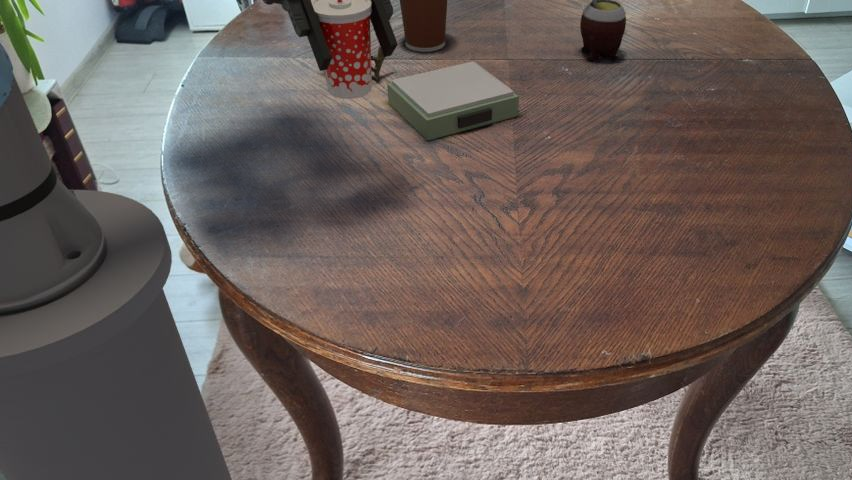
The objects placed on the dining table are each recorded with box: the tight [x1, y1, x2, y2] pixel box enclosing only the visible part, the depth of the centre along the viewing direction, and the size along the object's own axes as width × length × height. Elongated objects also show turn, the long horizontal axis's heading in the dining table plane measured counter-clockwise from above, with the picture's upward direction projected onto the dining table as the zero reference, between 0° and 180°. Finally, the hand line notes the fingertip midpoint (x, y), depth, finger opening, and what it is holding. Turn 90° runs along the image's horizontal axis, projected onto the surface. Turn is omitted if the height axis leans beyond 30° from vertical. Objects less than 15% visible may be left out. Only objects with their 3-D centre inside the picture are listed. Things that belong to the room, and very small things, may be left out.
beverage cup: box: [311, 0, 373, 100], centre depth 73 cm, size 6×6×14 cm
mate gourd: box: [579, 0, 627, 63], centre depth 113 cm, size 8×8×15 cm
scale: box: [386, 60, 520, 141], centre depth 101 cm, size 14×12×4 cm
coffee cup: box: [399, 0, 448, 53], centre depth 116 cm, size 9×9×12 cm
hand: (359, 57), depth 72 cm, fingers closed on beverage cup, 6 cm apart
